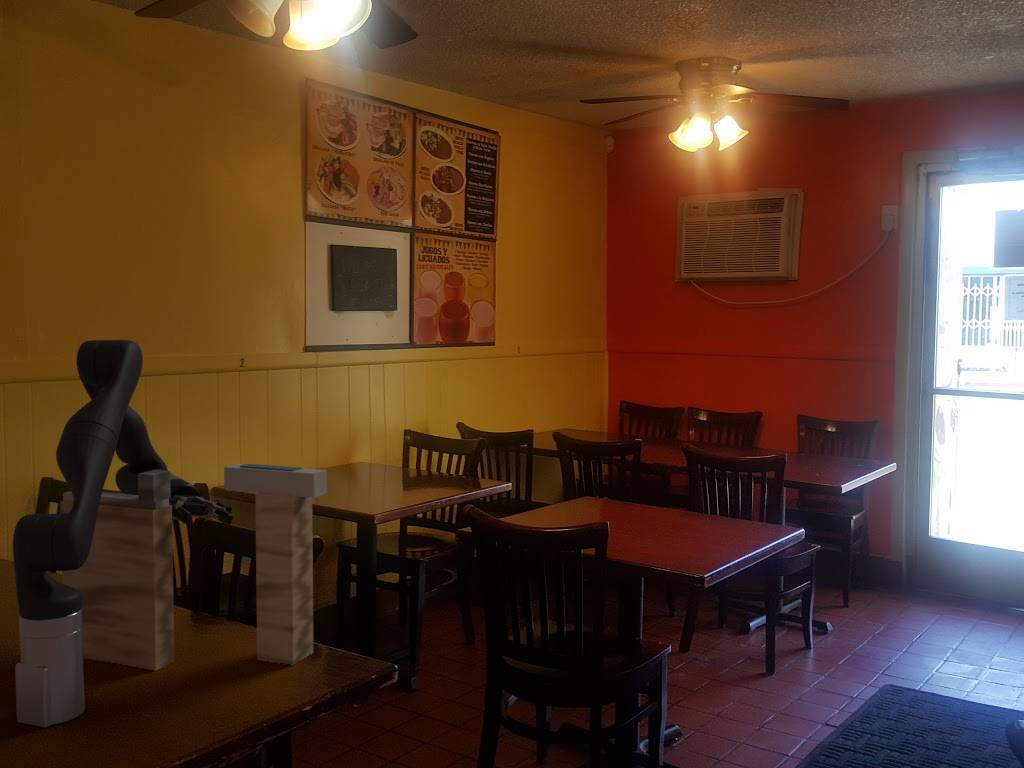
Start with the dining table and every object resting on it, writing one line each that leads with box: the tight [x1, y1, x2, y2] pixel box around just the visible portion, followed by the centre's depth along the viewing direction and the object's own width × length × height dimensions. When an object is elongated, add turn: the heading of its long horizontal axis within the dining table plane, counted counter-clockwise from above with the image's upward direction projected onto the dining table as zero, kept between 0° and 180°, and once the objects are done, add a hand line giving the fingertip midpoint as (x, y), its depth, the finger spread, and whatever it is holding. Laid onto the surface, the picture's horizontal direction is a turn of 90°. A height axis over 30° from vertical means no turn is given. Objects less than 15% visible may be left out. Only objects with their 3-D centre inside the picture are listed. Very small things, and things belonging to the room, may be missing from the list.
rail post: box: [59, 470, 175, 671], centre depth 178 cm, size 5×22×36 cm, turn 70°
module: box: [223, 463, 328, 499], centre depth 179 cm, size 20×4×5 cm, turn 70°
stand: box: [254, 493, 314, 666], centre depth 180 cm, size 7×8×32 cm
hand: (209, 519), depth 179 cm, fingers open, 8 cm apart
